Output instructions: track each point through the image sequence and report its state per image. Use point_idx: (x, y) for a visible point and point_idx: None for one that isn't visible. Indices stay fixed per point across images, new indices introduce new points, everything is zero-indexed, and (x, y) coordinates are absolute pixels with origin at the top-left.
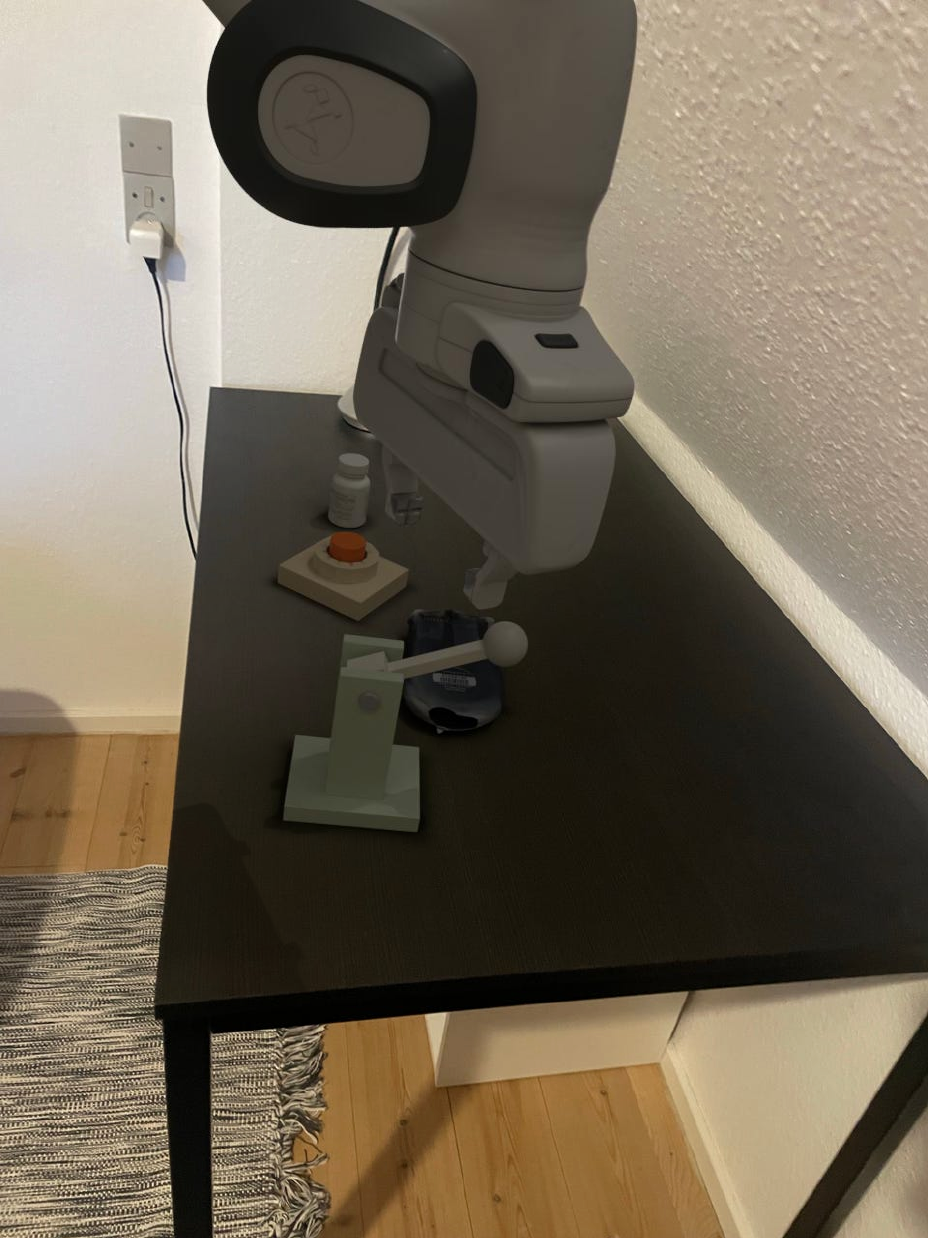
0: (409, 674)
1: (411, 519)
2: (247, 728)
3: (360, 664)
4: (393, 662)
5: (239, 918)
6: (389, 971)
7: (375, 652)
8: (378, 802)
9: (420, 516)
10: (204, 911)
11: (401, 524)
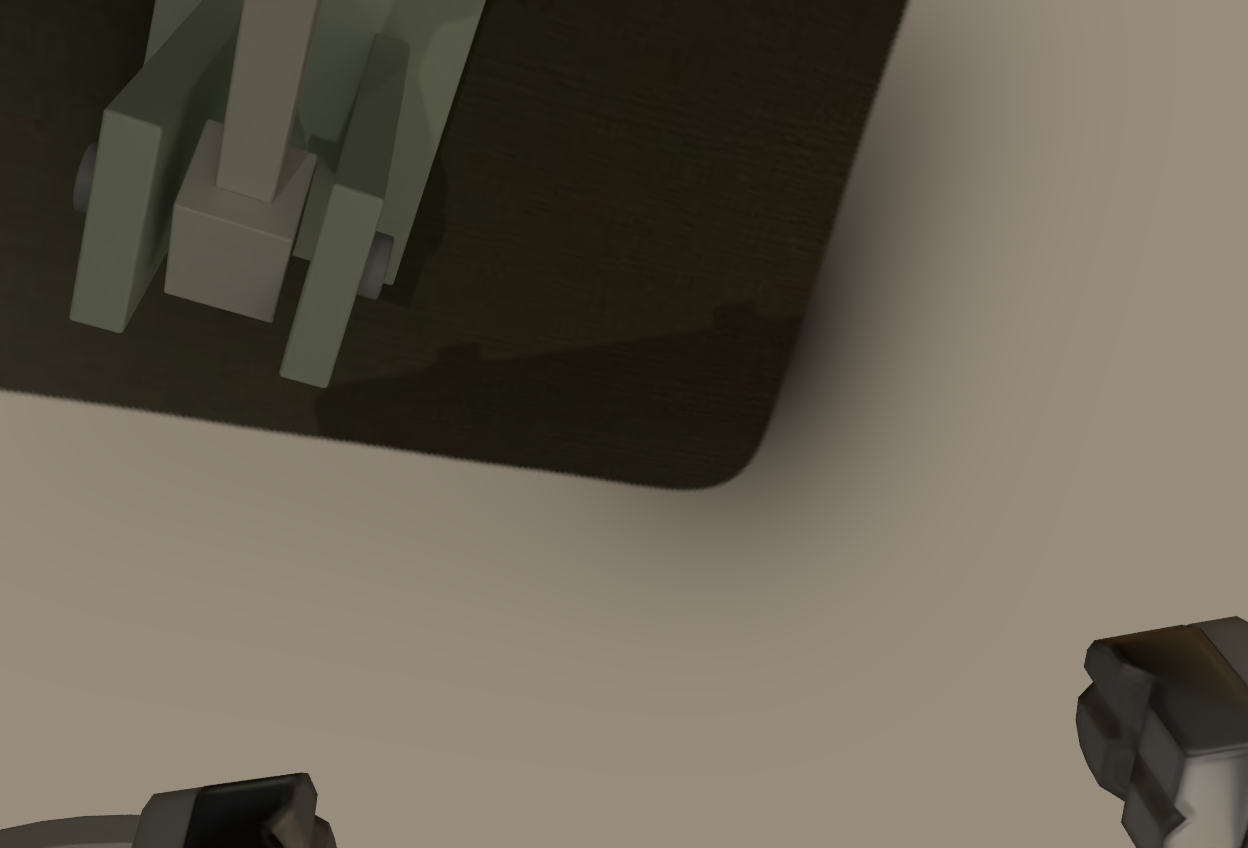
0: (292, 127)
1: (311, 823)
2: (44, 278)
3: (218, 277)
4: (225, 173)
5: (630, 387)
6: (843, 160)
7: (151, 214)
8: (417, 60)
9: (296, 797)
10: (596, 436)
11: (331, 841)
